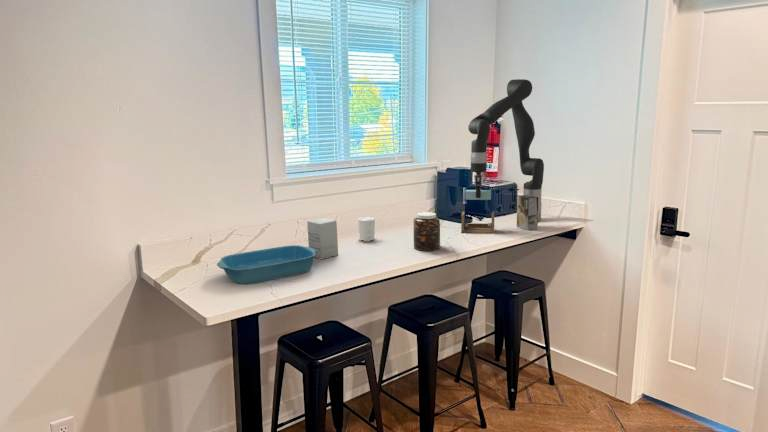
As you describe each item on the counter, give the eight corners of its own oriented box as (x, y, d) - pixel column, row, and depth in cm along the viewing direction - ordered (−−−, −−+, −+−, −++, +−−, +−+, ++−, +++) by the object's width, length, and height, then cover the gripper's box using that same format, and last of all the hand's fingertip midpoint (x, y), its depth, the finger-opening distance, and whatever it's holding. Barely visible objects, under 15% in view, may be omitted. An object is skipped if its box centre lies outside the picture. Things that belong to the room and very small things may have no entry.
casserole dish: (227, 291, 176) (226, 271, 175) (211, 275, 195) (210, 256, 194) (326, 272, 195) (325, 254, 193) (303, 259, 214) (302, 242, 212)
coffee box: (538, 229, 257) (539, 197, 254) (528, 230, 255) (528, 198, 252) (525, 225, 266) (526, 194, 263) (515, 227, 263) (516, 195, 260)
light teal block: (465, 198, 256) (465, 189, 255) (490, 198, 253) (490, 190, 253) (465, 199, 251) (465, 191, 250) (490, 199, 248) (491, 191, 248)
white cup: (355, 241, 242) (355, 220, 240) (362, 237, 249) (362, 216, 247) (371, 242, 239) (370, 220, 237) (378, 238, 246) (377, 217, 244)
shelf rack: (462, 229, 261) (462, 211, 260) (493, 229, 258) (494, 211, 257) (461, 233, 253) (461, 214, 251) (494, 233, 250) (494, 215, 248)
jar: (445, 247, 227) (445, 213, 224) (429, 252, 218) (429, 217, 216) (424, 243, 235) (424, 210, 232) (407, 248, 226) (407, 214, 223)
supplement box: (325, 251, 224) (323, 217, 221) (338, 255, 218) (337, 220, 215) (308, 255, 218) (306, 220, 215) (321, 259, 211) (319, 223, 209)
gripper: (486, 163, 241) (486, 199, 244) (486, 160, 255) (486, 194, 258) (470, 163, 242) (470, 199, 246) (471, 160, 256) (470, 194, 259)
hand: (478, 196), depth 252 cm, fingers closed on light teal block, 5 cm apart
